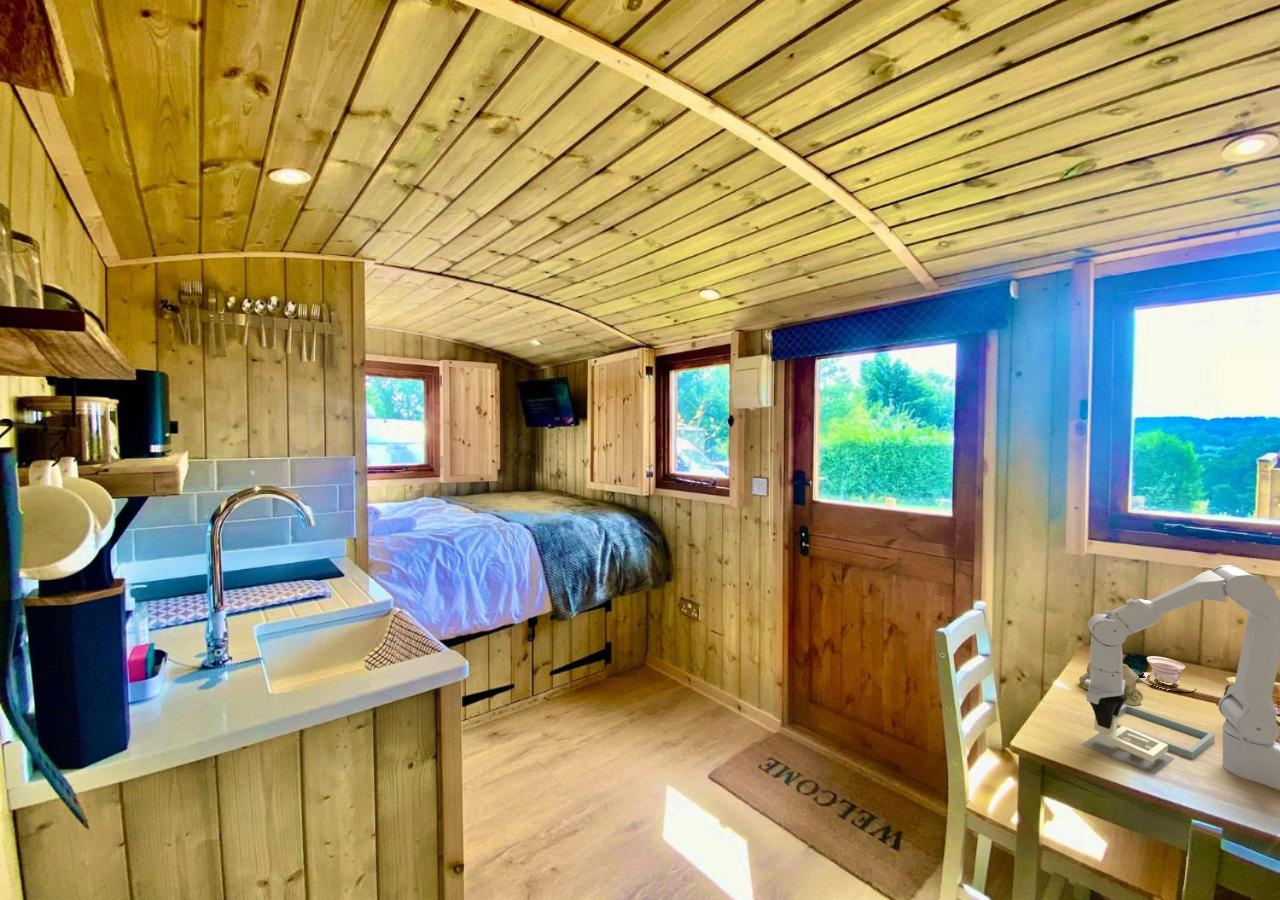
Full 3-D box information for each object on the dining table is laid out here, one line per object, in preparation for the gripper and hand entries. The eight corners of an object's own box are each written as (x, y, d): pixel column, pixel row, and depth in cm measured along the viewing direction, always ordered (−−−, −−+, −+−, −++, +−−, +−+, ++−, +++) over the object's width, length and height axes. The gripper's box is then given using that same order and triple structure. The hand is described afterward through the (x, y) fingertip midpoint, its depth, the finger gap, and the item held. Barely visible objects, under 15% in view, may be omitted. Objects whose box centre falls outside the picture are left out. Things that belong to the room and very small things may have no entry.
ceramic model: (1151, 698, 148) (1152, 662, 148) (1135, 709, 143) (1135, 672, 142) (1089, 678, 160) (1089, 645, 160) (1071, 688, 155) (1071, 654, 154)
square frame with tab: (1167, 750, 120) (1169, 731, 119) (1152, 762, 116) (1154, 742, 116) (1103, 723, 130) (1105, 705, 129) (1087, 733, 126) (1089, 715, 126)
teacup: (1127, 673, 163) (1127, 653, 162) (1172, 674, 161) (1172, 654, 161) (1160, 692, 151) (1160, 671, 151) (1208, 694, 149) (1208, 672, 149)
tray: (1214, 744, 126) (1214, 734, 126) (1192, 763, 119) (1192, 752, 119) (1124, 713, 141) (1124, 703, 140) (1100, 728, 134) (1100, 718, 134)
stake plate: (1174, 762, 120) (1174, 740, 120) (1154, 779, 115) (1154, 755, 115) (1102, 734, 131) (1102, 714, 131) (1080, 748, 126) (1080, 727, 126)
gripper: (1099, 654, 133) (1099, 709, 133) (1070, 668, 126) (1071, 726, 126) (1136, 665, 127) (1136, 722, 127) (1108, 680, 120) (1108, 740, 120)
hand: (1106, 725), depth 126 cm, fingers closed on square frame with tab, 2 cm apart
